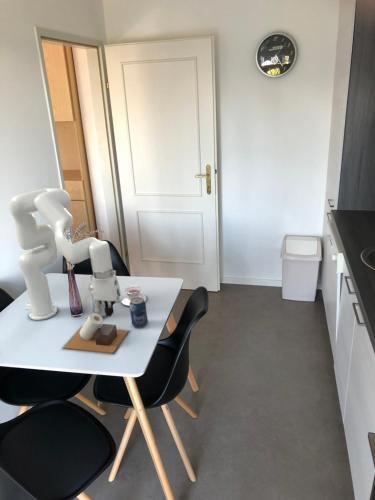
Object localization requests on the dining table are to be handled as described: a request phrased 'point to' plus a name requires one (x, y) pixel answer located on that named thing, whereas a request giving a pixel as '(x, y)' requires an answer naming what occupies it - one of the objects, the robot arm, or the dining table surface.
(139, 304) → the soda can
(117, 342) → the cork mat
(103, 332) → the walnut block
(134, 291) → the teacup
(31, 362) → the dining table surface
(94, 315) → the paper roll
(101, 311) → the plastic bottle
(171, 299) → the dining table surface
